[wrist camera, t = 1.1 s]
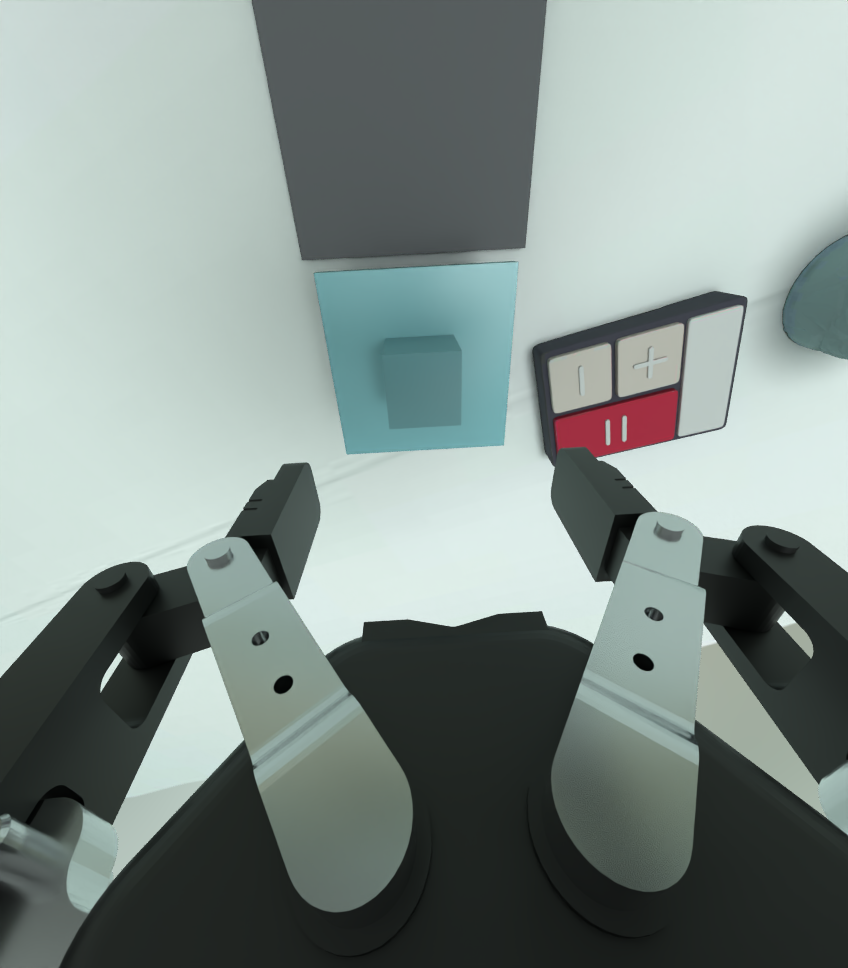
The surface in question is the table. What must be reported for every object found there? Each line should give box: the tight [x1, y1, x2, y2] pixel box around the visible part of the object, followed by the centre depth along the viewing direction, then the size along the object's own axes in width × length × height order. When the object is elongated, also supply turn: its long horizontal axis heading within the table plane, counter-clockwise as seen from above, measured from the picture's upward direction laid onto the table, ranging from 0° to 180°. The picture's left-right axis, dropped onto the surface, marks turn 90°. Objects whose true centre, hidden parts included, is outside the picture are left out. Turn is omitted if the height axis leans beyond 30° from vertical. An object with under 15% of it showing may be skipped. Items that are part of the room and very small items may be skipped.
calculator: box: [533, 291, 747, 466], centre depth 32 cm, size 11×4×15 cm
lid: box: [314, 261, 518, 454], centre depth 22 cm, size 11×11×7 cm
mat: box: [252, 0, 547, 260], centre depth 22 cm, size 16×16×1 cm
